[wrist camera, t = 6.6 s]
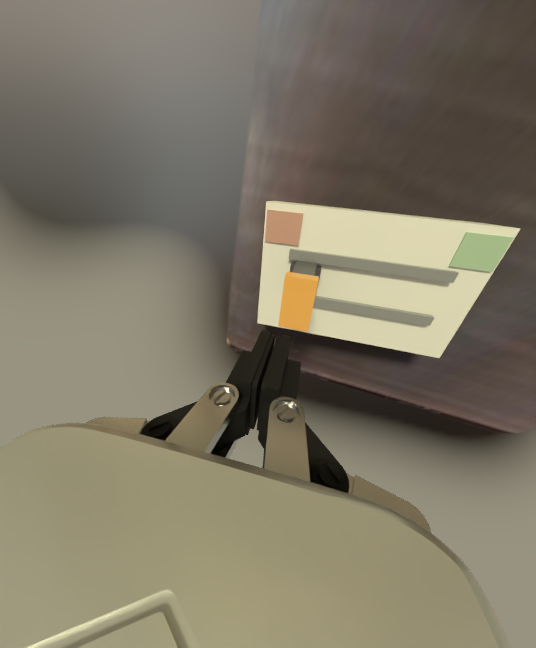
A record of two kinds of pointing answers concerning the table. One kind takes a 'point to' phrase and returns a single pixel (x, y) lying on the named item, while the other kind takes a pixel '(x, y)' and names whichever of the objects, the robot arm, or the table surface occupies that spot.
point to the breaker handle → (299, 295)
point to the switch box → (380, 272)
